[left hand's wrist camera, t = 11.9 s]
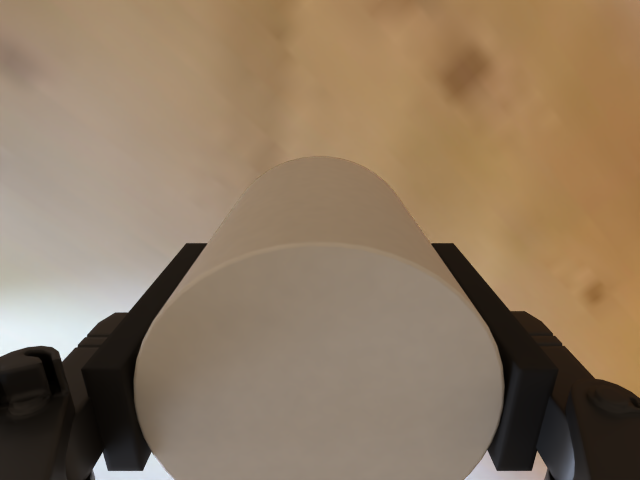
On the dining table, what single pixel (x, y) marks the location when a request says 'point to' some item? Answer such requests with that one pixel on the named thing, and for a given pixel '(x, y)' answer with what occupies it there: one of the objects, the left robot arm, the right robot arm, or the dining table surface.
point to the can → (319, 343)
